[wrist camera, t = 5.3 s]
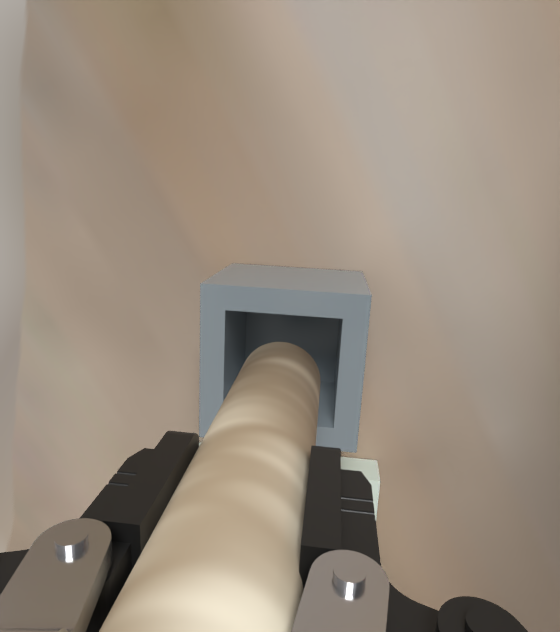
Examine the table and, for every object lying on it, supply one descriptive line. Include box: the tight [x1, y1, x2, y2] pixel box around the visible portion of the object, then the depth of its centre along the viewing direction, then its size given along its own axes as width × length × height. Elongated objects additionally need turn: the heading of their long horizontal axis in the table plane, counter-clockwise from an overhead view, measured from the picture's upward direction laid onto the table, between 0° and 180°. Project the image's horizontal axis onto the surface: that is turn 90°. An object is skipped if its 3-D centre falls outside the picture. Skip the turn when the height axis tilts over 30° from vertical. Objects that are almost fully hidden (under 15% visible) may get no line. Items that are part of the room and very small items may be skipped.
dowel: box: [99, 342, 320, 632], centre depth 12 cm, size 3×3×13 cm
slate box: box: [199, 263, 372, 453], centre depth 22 cm, size 7×7×6 cm
